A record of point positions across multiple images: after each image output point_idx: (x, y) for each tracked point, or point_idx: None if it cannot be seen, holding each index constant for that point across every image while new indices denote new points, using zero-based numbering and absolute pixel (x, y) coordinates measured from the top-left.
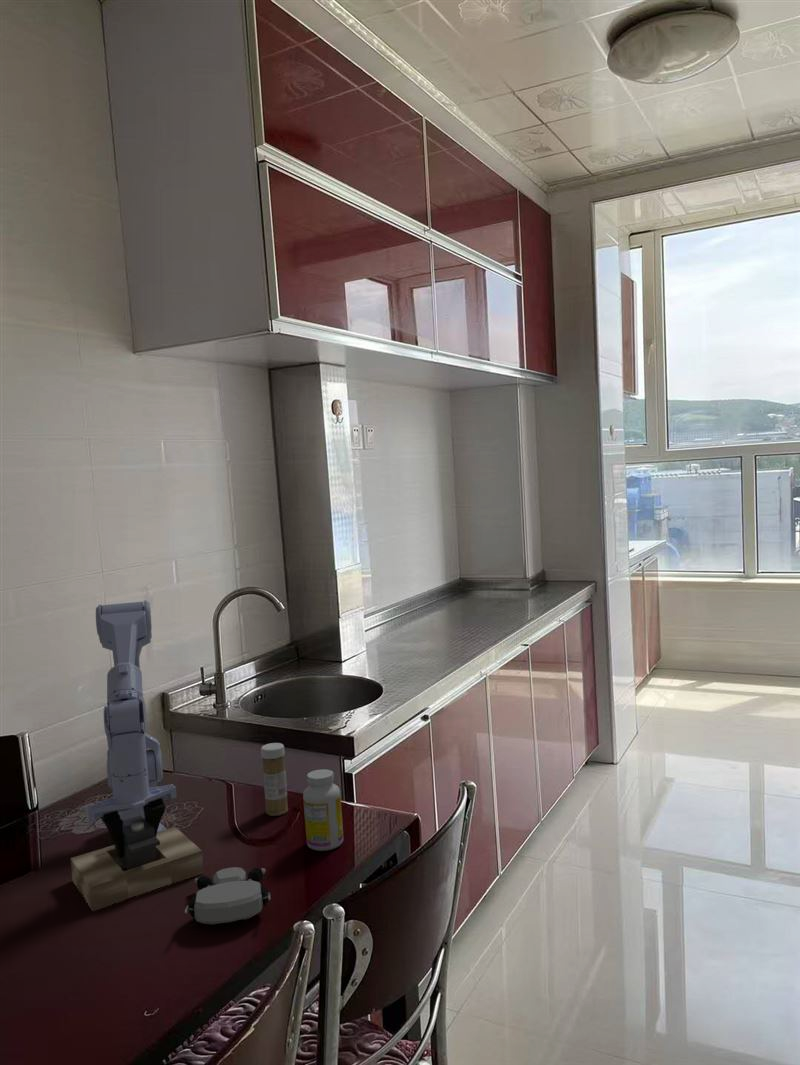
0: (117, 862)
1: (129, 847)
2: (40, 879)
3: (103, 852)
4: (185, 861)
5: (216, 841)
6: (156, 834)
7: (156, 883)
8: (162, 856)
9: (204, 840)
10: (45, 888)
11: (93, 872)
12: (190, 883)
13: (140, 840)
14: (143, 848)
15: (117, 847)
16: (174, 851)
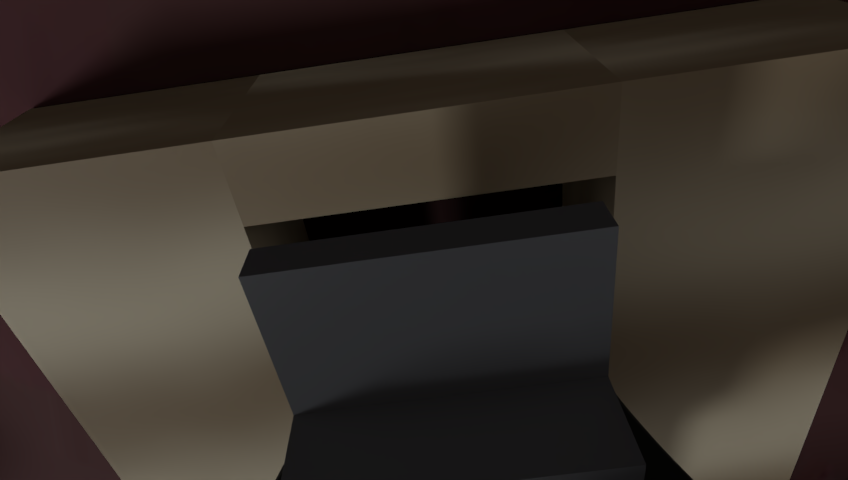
0: None
1: (609, 313)
2: (806, 453)
3: None
4: (91, 143)
5: (5, 425)
6: (280, 470)
7: (361, 73)
8: None
9: (75, 455)
10: (834, 382)
11: (792, 278)
12: (121, 9)
13: (458, 396)
14: (461, 231)
15: None
16: (173, 290)
